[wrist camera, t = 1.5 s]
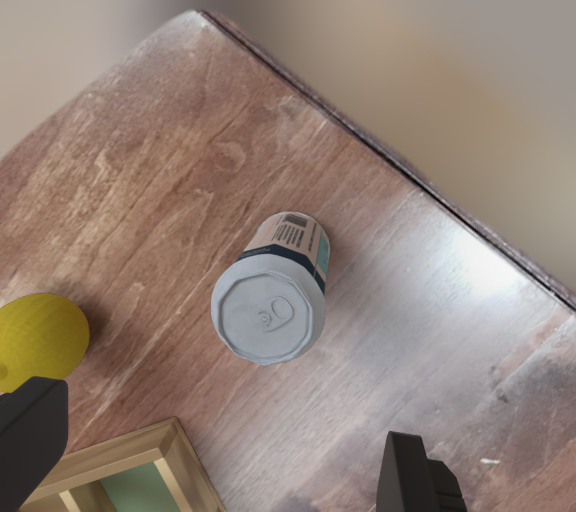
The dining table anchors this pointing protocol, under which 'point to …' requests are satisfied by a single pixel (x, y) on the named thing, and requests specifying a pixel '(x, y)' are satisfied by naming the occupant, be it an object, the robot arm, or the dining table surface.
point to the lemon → (40, 339)
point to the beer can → (274, 291)
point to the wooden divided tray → (129, 476)
